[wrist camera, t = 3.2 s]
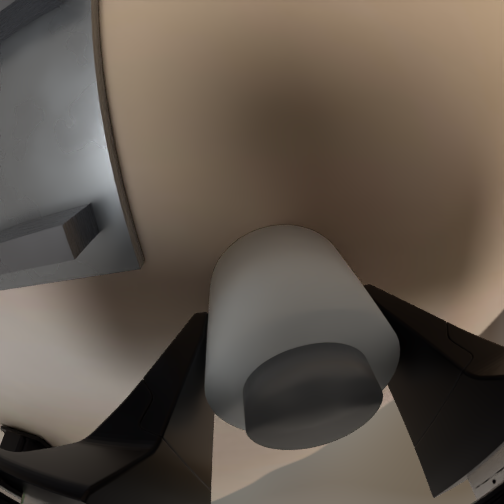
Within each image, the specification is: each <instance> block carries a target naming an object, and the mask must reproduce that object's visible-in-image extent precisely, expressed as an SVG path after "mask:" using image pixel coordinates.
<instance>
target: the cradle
mask: <svg viewBox="0 0 504 504" xmlns="http://www.w3.org/2000/svg"><path fill="white" fill-rule="evenodd" d="M143 262H144V258H143V255H142V251H141V248H140V245H139V241H138V238H137V235H136V231H135V228H134V224H133V221H132V217H131V213H130V210H129V206H128V202H127V198H126V194H125V190H124V186H123V182H122V177H121V173H120V169H119V164H118V160H117V155H116V150H115V145H114V140H113V135H112V129H111V124H110V118H109V112H108V105H107V99H106V92H105V84H104V76H103V68H102V58H101V47H100V33H99V14H98V0H0V290H6V289H13V288H19V287H26V286H32V285H39V284H45V283H52V282H59V281H65V280H72V279H78V278H85V277H91V276H98V275H104V274H111V273H117V272H124V271H130V270H137V269H140V268H141V266H142V264H143Z"/></svg>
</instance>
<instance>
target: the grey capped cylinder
mask: <svg viewBox="0 0 504 504" xmlns="http://www.w3.org/2000/svg"><path fill="white" fill-rule="evenodd" d="M399 358H400V345H399V340H398V337H397V335H396V333H395V331H394V330H393V328H392V327H391V325H390V324H389V322H388V321H387V319H386V318H385V317H384V315H383V314H382V312H381V311H380V309H379V308H378V306H377V305H376V303H375V302H374V300H373V299H372V298H371V296H370V295H369V293H368V292H367V290H366V289H365V288H364V286H363V285H362V283H361V282H360V281H359V279H358V278H357V276H356V275H355V274H354V272H353V271H352V270H351V268H350V267H349V266H348V264H347V263H346V261H345V260H344V259H343V257H342V256H341V255H340V253H339V252H338V251H337V249H336V248H335V247H334V246H333V244H332V243H331V242H330V241H329V240H327V239H326V238H325V237H324V236H322V235H321V234H319V233H317V232H315V231H313V230H311V229H308V228H305V227H301V226H295V225H274V226H269V227H264V228H261V229H258V230H255V231H253V232H251V233H249V234H247V235H245V236H243V237H241V238H240V239H238V240H237V241H236V242H234V243H233V244H232V245H231V246H230V247H229V248H228V249H227V250H226V251H225V252H224V253H223V254H222V256H221V257H220V259H219V260H218V262H217V264H216V266H215V268H214V271H213V274H212V277H211V284H210V297H209V312H208V327H207V345H206V365H205V396H206V399H207V402H208V404H209V406H210V407H211V409H212V410H213V411H214V412H215V414H216V415H217V416H219V417H220V418H221V419H222V420H224V421H225V422H227V423H229V424H230V425H233V426H235V427H237V428H240V429H243V430H246V433H247V435H248V436H249V438H250V439H251V440H253V441H254V442H255V443H257V444H259V445H262V446H264V447H268V448H273V449H281V450H297V449H306V448H312V447H316V446H320V445H324V444H327V443H330V442H333V441H336V440H338V439H340V438H342V437H345V436H347V435H348V434H350V433H352V432H354V431H355V430H357V429H358V428H360V427H361V426H363V425H364V424H365V423H366V422H367V421H369V420H370V419H371V418H372V417H373V416H374V414H375V413H376V412H377V410H378V409H379V407H380V405H381V403H382V399H383V393H382V390H383V389H384V388H385V387H386V386H387V384H388V383H389V381H390V380H391V378H392V376H393V375H394V373H395V371H396V368H397V366H398V362H399Z"/></svg>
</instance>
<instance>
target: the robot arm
mask: <svg viewBox="0 0 504 504" xmlns="http://www.w3.org/2000/svg"><path fill="white" fill-rule="evenodd" d="M364 288H365V289H366V290H367V292H368V293H369V295H370V296H371V298H372V299H373V300H374V302H375V303H376V305H377V306H378V308H379V309H380V311H381V312H382V314H383V315H384V317H385V318H386V319H387V321H388V322H389V324H390V325H391V327H392V328H393V330H394V331H395V333H396V335H397V337H398V340H399V345H400V358H399V362H398V366H397V368H396V371H395V373H394V375H393V376H392V378H391V380H390V381H389V383H388V384H387V385H388V387H389V389H390V391H391V393H392V396H393V398H394V400H395V402H396V405H397V407H398V409H399V411H400V414H401V416H402V418H403V421H404V423H405V425H406V428H407V430H408V433H409V435H410V437H411V440H412V442H413V445H414V447H415V450H416V453H417V455H418V457H419V460H420V463H421V466H422V468H423V471H424V474H425V476H426V479H427V482H428V484H429V487H430V490H431V492H432V495H433V497H434V498H435V497H437V496H439V495H441V494H442V493H444V492H446V491H448V490H450V489H452V488H453V487H455V486H457V485H458V484H460V483H462V482H463V481H465V480H467V479H468V480H469V482H470V485H471V487H472V489H473V492H474V494H475V496H476V498H477V500H476V501H475V502H473V503H472V504H504V346H501V345H499V344H496V343H494V342H491V341H489V340H486V339H484V338H481V337H479V336H476V335H474V334H472V333H469V332H467V331H465V330H463V329H461V328H458V327H456V326H454V325H452V324H450V323H448V322H447V323H446V321H444V320H442V319H440V318H438V317H436V316H434V315H432V314H430V313H428V312H426V311H424V310H422V309H420V308H418V307H416V306H414V305H412V304H410V303H408V302H406V301H404V300H401V299H399V298H397V297H395V296H393V295H391V294H389V293H387V292H385V291H383V290H381V289H379V288H376V287H374V286H372V285H364ZM207 327H208V313H207V312H201V313H196V314H194V315H193V317H192V318H191V319H190V320H189V322H188V323H187V324H186V325H185V327H184V328H183V329H182V330H181V332H180V333H179V334H178V335H177V337H176V338H175V339H174V340H173V341H172V343H171V344H170V345H169V346H168V348H167V349H166V350H165V351H164V353H163V354H162V355H161V356H160V358H159V359H158V360H157V361H156V363H155V364H154V365H153V366H152V368H151V369H150V370H149V371H148V373H147V374H146V375H145V376H144V378H143V379H144V380H141V381H140V383H139V384H138V385H137V386H136V388H135V389H134V390H133V391H132V392H131V393H130V395H129V396H128V397H127V398H126V399H125V400H124V401H123V402H122V403H121V404H120V406H119V407H118V408H117V409H116V410H115V411H114V412H113V413H112V414H111V415H110V416H109V417H108V418H107V419H106V420H105V421H104V422H103V423H102V424H101V425H100V426H99V427H98V428H97V429H96V430H95V431H94V432H92V433H91V434H90V435H89V436H88V437H86V438H85V439H83V440H81V441H79V442H76V443H72V444H68V445H63V446H58V447H52V448H51V447H50V446H49V445H48V444H47V443H46V442H45V441H43V440H42V439H41V438H39V437H37V436H34V435H30V434H27V433H24V432H20V431H17V430H14V429H11V428H8V427H5V426H1V428H0V429H1V430H2V431H3V432H4V433H5V434H4V437H3V440H2V442H1V445H0V488H2V489H3V490H5V491H6V492H8V493H10V494H12V495H14V496H15V497H17V498H18V499H20V500H21V503H19V502H17V501H15V500H13V499H12V498H10V497H8V496H6V495H5V494H3V493H1V492H0V504H211V478H212V452H213V430H214V411H213V410H212V409H211V407H210V406H209V404H208V402H207V399H206V396H205V365H206V345H207Z"/></svg>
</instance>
